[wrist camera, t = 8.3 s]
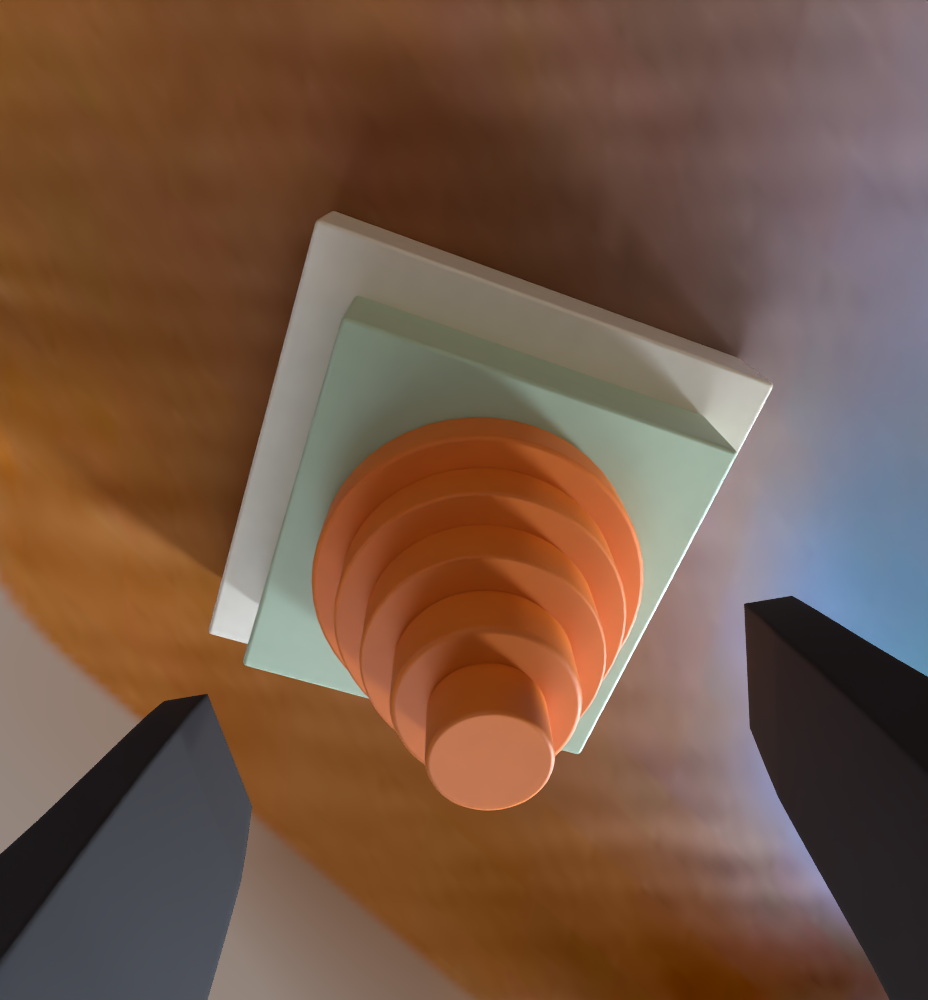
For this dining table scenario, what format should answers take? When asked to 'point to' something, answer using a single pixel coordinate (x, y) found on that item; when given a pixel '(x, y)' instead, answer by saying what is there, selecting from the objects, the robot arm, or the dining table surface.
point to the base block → (468, 308)
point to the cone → (478, 597)
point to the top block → (486, 394)
